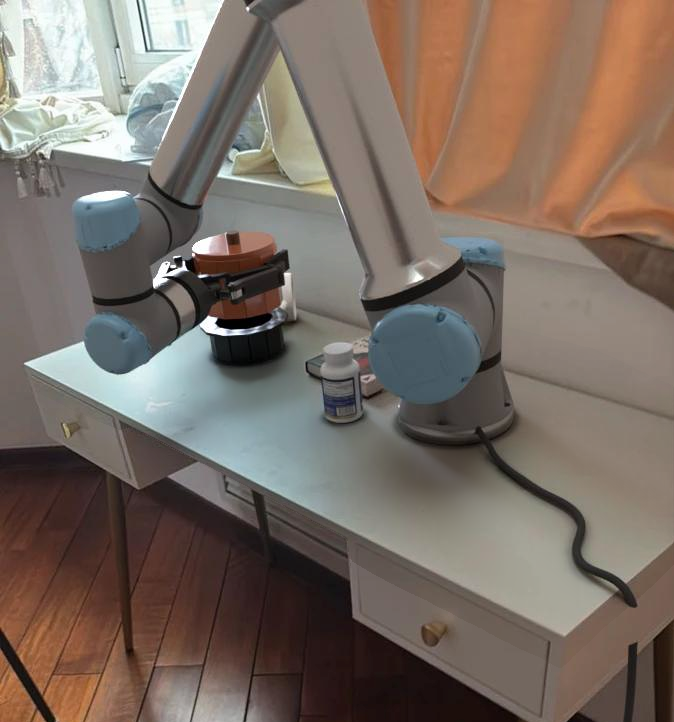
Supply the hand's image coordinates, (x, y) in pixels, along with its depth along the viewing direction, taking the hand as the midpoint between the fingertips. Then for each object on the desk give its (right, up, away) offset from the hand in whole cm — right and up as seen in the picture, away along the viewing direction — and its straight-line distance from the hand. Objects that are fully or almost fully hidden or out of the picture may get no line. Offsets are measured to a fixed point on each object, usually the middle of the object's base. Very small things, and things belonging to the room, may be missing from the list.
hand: (247, 257), depth 128 cm
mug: (+1, -3, +22) cm, 23 cm away
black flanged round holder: (-1, -10, +13) cm, 17 cm away
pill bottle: (+15, -26, -9) cm, 31 cm away
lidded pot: (-1, -7, +1) cm, 7 cm away
